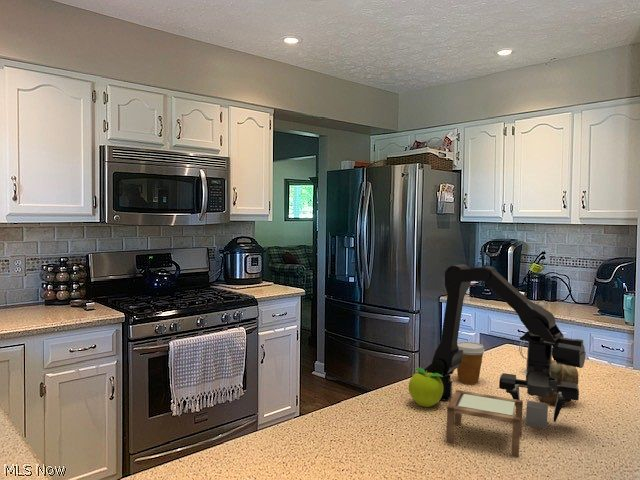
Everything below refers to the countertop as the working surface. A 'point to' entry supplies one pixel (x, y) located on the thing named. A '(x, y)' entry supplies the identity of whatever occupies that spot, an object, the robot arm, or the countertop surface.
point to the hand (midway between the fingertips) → (536, 418)
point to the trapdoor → (487, 404)
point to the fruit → (426, 388)
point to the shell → (560, 379)
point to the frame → (457, 412)
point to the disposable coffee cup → (470, 362)
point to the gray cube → (536, 414)
